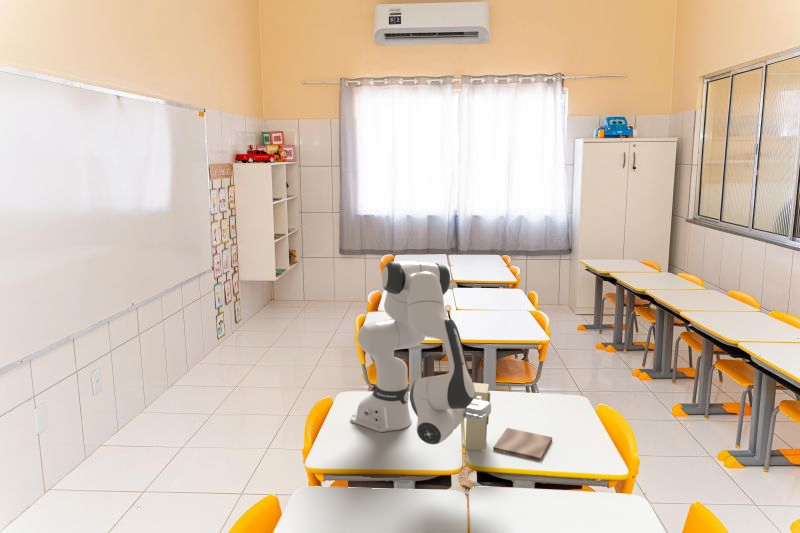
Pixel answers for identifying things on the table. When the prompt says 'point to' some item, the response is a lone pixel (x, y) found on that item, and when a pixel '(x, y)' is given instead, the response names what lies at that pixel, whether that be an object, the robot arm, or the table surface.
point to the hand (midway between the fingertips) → (465, 395)
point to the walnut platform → (523, 444)
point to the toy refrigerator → (478, 422)
